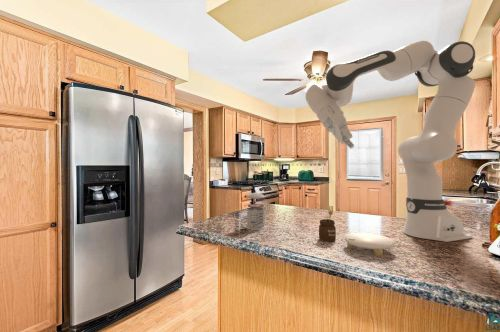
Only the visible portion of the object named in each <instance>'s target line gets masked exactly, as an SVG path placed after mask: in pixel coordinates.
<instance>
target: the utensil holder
mask: <svg viewBox="0 0 500 332" xmlns="http://www.w3.org/2000/svg"><path fill="white" fill-rule="evenodd" d="M333 211H334V205H333V206H331V205H329V206H328V213H327V211H326V210H322V212H323V213H326V216H325V214H320V215H321V216H320V217H324V216H325V217H324V218H321V219H320V220H319V226H318V239H319V240H320V242H321V241H322V242H325V243H331V242H335V241H336V239H337V230H336V229H337V228H336V226H335V225H336V223H335V220H333V219H331V217H332V215H333V213H334V212H333ZM328 215H329V219H328Z"/></svg>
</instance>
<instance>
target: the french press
mask: <svg viewBox="0 0 500 332" xmlns="http://www.w3.org/2000/svg"><path fill="white" fill-rule="evenodd" d="M258 173H259V171H257V170H254V171H253V174H255V178H257V174H258ZM265 197H266V196H265V195H264V194H263V193H259V192H257V191H254V192H252V193H249V194H247V195H246V198H247V199H255V200H257V199H262V203H264V202H266V204H267V205H266V206H268V207H267V209H266V210H265V208H264V204H262V203H261V204H260V203H259V204H257V203H253V204H248V205H247V207H248V208H246V224H247V225H245V226H246V228H247V229H246V230H248V229H251V230H250V231H264V230H266V229H267V228H268V227H267V226H266V225H265V224H266V223H265V222H266V220H265V219H266V218H265V217H266V216H267V215H268V214H269V212H270V210H271V204H270V202H269V200H268V199H266V198H265ZM263 229H264V230H263Z"/></svg>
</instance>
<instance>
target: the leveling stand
mask: <svg viewBox="0 0 500 332" xmlns="http://www.w3.org/2000/svg"><path fill="white" fill-rule="evenodd" d="M344 241H345V243H347V245H346V246H347V248H348V249H350V250H354V249H356V247H357V248H362V249H368V250H373V256H375V257H378V258H380V257H383V256H384V250H388V249H391V248H393V247H394V240H393V239H392V238H389V237H387V236H384V235H381V234H374V233H369V232H352V233H351V232H350V233H347V234H345V235H344Z"/></svg>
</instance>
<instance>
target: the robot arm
mask: <svg viewBox="0 0 500 332" xmlns="http://www.w3.org/2000/svg"><path fill="white" fill-rule="evenodd" d="M475 58H476V50H475V48H474V46H473V44H471V43H469V42H467V41H462V40H461V41H460V40H459V41H457V42H453V43H450V44H448V45H447V46H445V47H444V48H443V49H441V50H440V51H437V50H435V48H434V46H433V44H432V43H431V42H429V41H428V40H419V41H415V42H412V43H410V44H406V45H405V46H402V47H400V48H398V49H396V50H393V51H391V50H382V51H381V50H380V51H378V52H375V53H372V54H369V55H366V56H364V57H361V58H358V59H355V60H352V61H347V62H342V63H338V64H335V65H333V66H332V67H330V68H329V70H328V71H327V72H326V75H325V81H326V84H318V83H314V84H312V85H311V86H309V88H308V89H307V90H306V92H305V101H306V102H307V104H308V106H309V108H310V109H311V111H312V112H313V113H314V114H315V115H316V118H318V120H319V121H320V123H321V125H322V126H323V127H324V128H325V129H326V130H327V132H329V133H331V134H332V135H333V136H334V137H335V138H336V140H337V141H338V143H340V144H341V145H346V146H347V147H348V148H349V149H350V150H352V149H353V148H354V147H355V144H354V142H352V140H351V139H352V138H353V133H351V131H350V129H349V128H348V123H347V119H346V117H345V115H344V111H343V110H342V109H341V108H342V107H343V106H346V105H348V104H349V103H350V101H351V100H352V98H353V91H354V82H355V81H356V80H357V79H358V78H359V77H361V76H363V75H366V74H369V73H372V72H374V71H375V72H376V71H377V72H378V74H379V75H380V77H382V78H383V80H386V81H389V82H394V81H399V80H401V79H403V78H405V77H408V76H410V75H411V74H414V75H415V76H416V77H417V79H418V82H419V83H420V84H421V85H423V86H425V87H429V88H430V87H435V86H437V87H438V88H437V91H436V94H435V96H434V97H433V99H432V101H431V102H430V104H429V106H428V107H427V109H426V112H425V113H424V115H423V118H422V119H423V122H424V123H423V124H424V125H423V127H422V130H421V132H420V133H419V134H418V135H415V136H411V137H408V138H406V139H404V140H403V141H402V142H401V143H400V144H399V146H398V148H397V153H398V156H399V157H400V159H401V160H402V162H403V167H404V170H405V174H406V179H407V180H406V183H407V184H406V185H407V197H405V198H406V199H405V206H406V215H405V222H404V226H403V229H402V233H403V234H405V235H408V236H411V237H415V238H419V239H424V240H425V239H426V240H434V241H440V242H446V243H447V242H448V243H449V242H455V241H461V240H469V239H473V235H472V234H470V233H468V232H465V231H464V224H463V220H461V219H460V218H459V217H458V216H457V215H455V214H454V213H452V212H451V211H450V210H448V209H447V206H449V207H452V206H453V203H454V202H453V201H452V200H448V199H445V200H444V199H443V179H442V177H441V175H440V174H439V173H438V171H437V169H436V166H435V163H440V162H443V161H446V160H449V159H451V158H452V157H454V155H456V153H457V150H458V142H457V139H456V138H455V134H456V129H457V127H458V124H459V122H460V120H461V118H462V117H463V115H464V112H465V111H466V109H467V107H468V105H469V104H470V101H471V99H472V97H473V94H474V92H475V88H476V82H475V80H474V78H473V77H470V76H468V75H469V74H470V73H471V72H472V71H473V69H474V63H475V61H476V60H475Z"/></svg>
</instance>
